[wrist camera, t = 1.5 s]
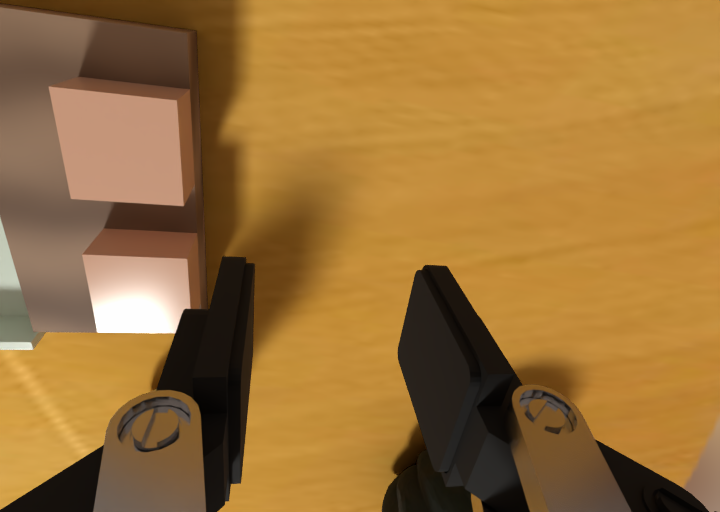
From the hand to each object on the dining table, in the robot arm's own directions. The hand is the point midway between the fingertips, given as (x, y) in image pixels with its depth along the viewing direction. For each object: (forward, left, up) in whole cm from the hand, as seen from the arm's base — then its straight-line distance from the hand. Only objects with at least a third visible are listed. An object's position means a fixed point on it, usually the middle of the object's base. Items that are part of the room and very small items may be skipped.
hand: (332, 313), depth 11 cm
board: (+4, -11, -17) cm, 21 cm away
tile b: (+8, -9, -15) cm, 19 cm away
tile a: (0, -9, -15) cm, 17 cm away
